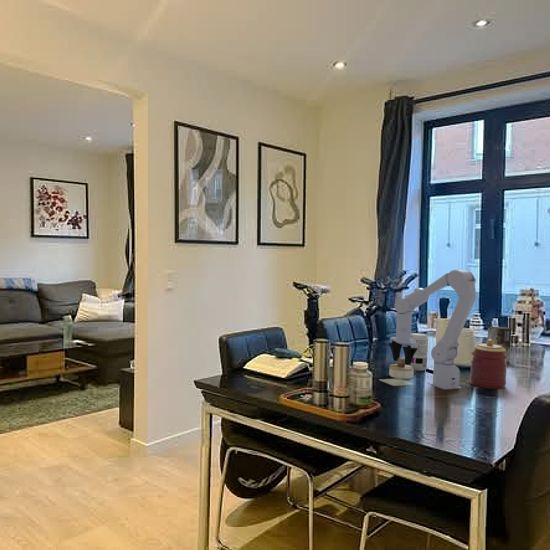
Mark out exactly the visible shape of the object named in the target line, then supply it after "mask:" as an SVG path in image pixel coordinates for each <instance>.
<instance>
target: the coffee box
mask: <svg viewBox="0 0 550 550" xmlns="http://www.w3.org/2000/svg"><path fill="white" fill-rule="evenodd" d="M511 334H512V328H510V327H507V326H491V325H490V326H487V340H489V339H491V340H493V342H494V345H499V346H502V348H504V349H505V350H506V351H505V352H504V353H505V354H506V355H507V356H508V358H507V359H506V363H510V360H511V358H510V355H511V336H512V335H511ZM487 340H486V341H487Z"/></svg>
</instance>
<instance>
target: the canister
mask: <svg viewBox="0 0 550 550" xmlns="http://www.w3.org/2000/svg"><path fill="white" fill-rule="evenodd" d="M473 348H474V350H473V351H470V353H471V355H472V359H471V360H470V375H469V382H470V384H471V385H473V386H475V387H479V388H482V389H483V388H484V389H490V390H500V389H504V388H506V385H507V368H508V367H507V366H508V364H507V362H506V359H507V358H508V356H507V355H506V354H505V353H504V352H505V351H506V350H505V349H504V348H502V346H499V345H494V342H493V340H491V339H489V340H486V342H485V343H478V344H476V345H474V346H473Z"/></svg>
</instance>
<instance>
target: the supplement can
mask: <svg viewBox="0 0 550 550" xmlns="http://www.w3.org/2000/svg"><path fill="white" fill-rule="evenodd" d="M411 340H413V342H416V343H417V347H416V348H417V351H416V352H415V354H414V356H413V358H412V362H411V365H408V366H411V367H413V369H414V372H415V371H416V372H420V371H421V372H423V371H425V370H426V369H427V368H428V349H429V338H428V334H426V333H421V332H411Z"/></svg>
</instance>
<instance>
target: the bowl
mask: <svg viewBox="0 0 550 550" xmlns="http://www.w3.org/2000/svg"><path fill="white" fill-rule="evenodd" d="M414 372H415V370H414V369H413V370H412V371H397V370H392V369H390V368H389V369H388V376H390V377H392V378H393V379H396V378H400V379H402V380H409V379H413V378H414V374H415V373H414Z"/></svg>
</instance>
